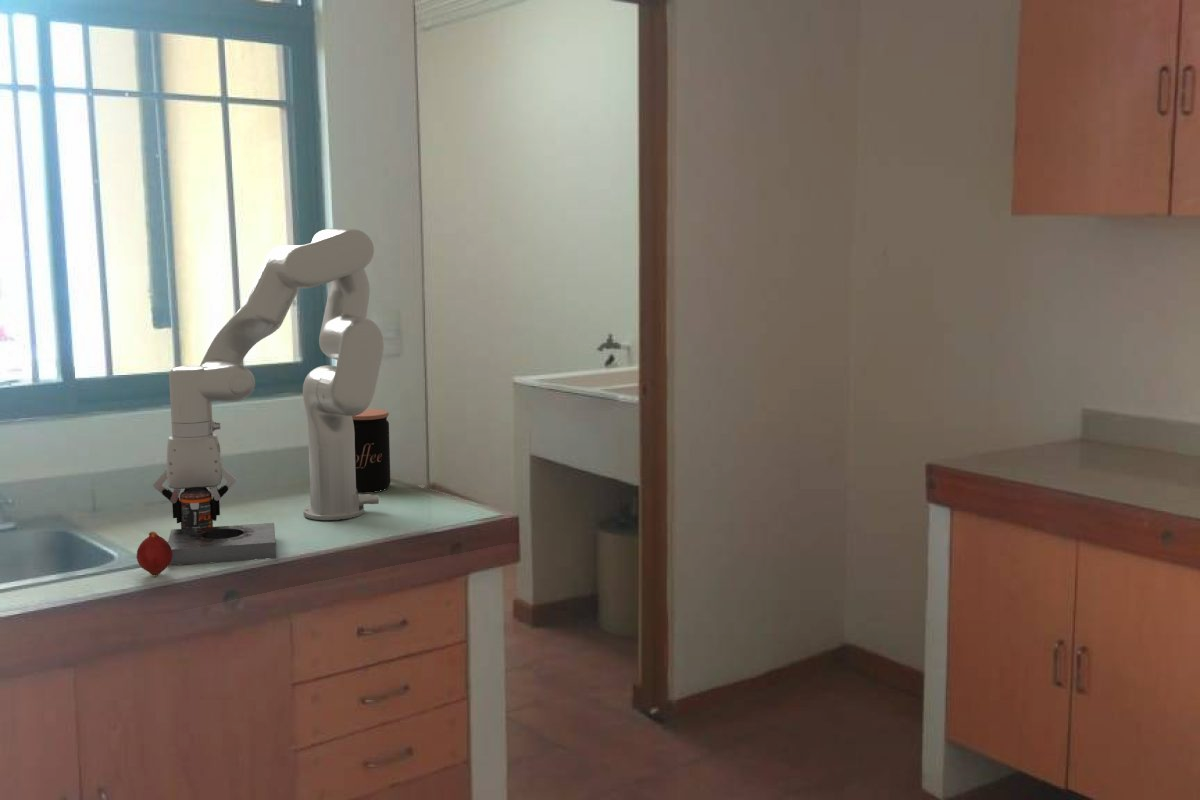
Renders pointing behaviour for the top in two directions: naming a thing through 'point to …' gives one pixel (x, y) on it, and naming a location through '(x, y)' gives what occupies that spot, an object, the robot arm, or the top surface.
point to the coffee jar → (372, 450)
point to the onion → (154, 554)
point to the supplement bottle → (196, 508)
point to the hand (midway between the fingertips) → (196, 519)
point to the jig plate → (222, 543)
